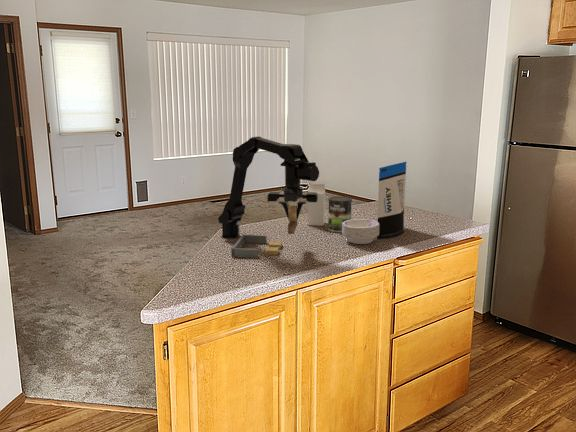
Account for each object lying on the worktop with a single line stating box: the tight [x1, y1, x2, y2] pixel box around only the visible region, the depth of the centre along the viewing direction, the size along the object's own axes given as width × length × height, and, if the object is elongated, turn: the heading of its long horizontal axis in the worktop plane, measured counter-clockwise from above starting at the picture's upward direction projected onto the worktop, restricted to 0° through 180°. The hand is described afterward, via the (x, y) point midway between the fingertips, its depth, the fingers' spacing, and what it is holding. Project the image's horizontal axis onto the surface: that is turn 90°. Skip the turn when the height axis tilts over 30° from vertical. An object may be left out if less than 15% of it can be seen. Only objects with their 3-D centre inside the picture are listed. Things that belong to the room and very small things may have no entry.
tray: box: [230, 234, 268, 258], centre depth 208 cm, size 10×20×3 cm, turn 173°
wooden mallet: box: [287, 203, 298, 235], centre depth 203 cm, size 3×14×10 cm, turn 173°
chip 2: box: [264, 246, 280, 256], centre depth 203 cm, size 4×4×2 cm
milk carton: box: [307, 182, 326, 227], centre depth 244 cm, size 7×7×19 cm
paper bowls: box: [341, 218, 379, 245], centre depth 217 cm, size 15×15×8 cm
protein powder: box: [376, 161, 407, 240], centre depth 226 cm, size 10×24×30 cm, turn 142°
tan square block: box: [268, 240, 283, 250], centre depth 210 cm, size 4×4×2 cm
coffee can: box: [327, 195, 353, 233], centre depth 235 cm, size 10×10×14 cm
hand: (292, 218), depth 203 cm, fingers closed on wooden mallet, 3 cm apart
